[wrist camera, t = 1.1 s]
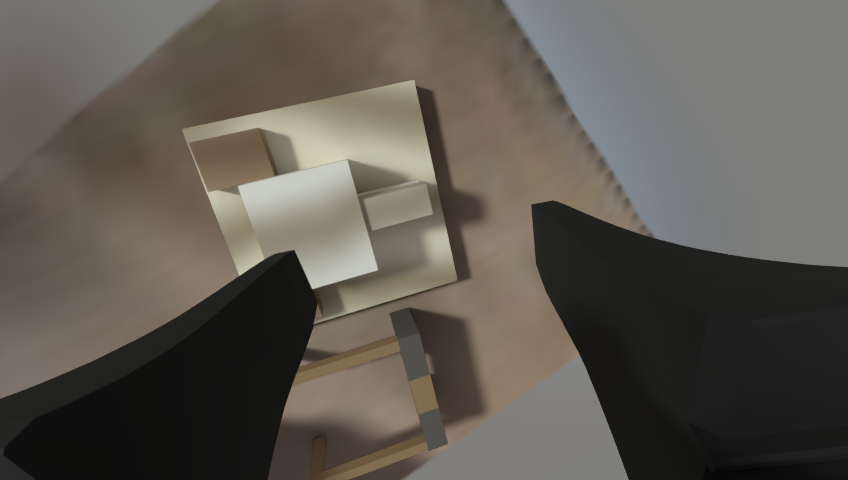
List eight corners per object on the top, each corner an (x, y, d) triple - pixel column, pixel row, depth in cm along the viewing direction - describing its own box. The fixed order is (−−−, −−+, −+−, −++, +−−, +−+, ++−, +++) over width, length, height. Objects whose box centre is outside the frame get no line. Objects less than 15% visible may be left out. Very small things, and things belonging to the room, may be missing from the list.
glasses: (434, 406, 33) (448, 443, 29) (316, 447, 31) (312, 494, 27) (408, 307, 30) (419, 332, 26) (278, 347, 29) (267, 381, 24)
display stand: (452, 274, 30) (475, 299, 25) (268, 329, 28) (251, 369, 23) (410, 83, 26) (427, 66, 21) (191, 130, 24) (149, 124, 19)
